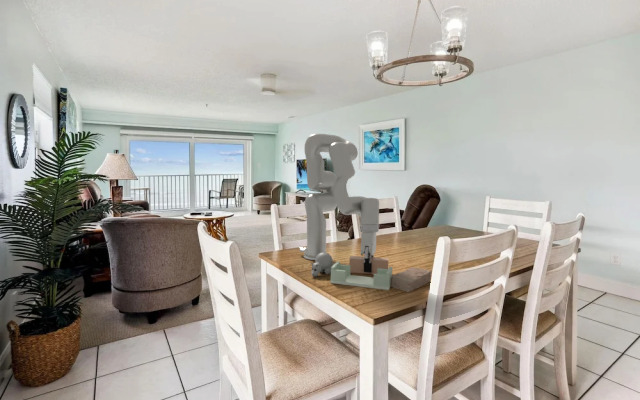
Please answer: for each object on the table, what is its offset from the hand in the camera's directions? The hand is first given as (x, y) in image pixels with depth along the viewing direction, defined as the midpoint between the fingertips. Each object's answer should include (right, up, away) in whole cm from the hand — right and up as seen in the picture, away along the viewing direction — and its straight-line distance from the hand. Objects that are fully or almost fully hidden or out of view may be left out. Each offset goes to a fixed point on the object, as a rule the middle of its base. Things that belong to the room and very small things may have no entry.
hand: (368, 269), depth 139 cm
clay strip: (0, -1, 0) cm, 1 cm away
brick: (+14, -3, -14) cm, 20 cm away
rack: (-5, -2, -13) cm, 14 cm away
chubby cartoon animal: (-20, -1, -2) cm, 20 cm away
